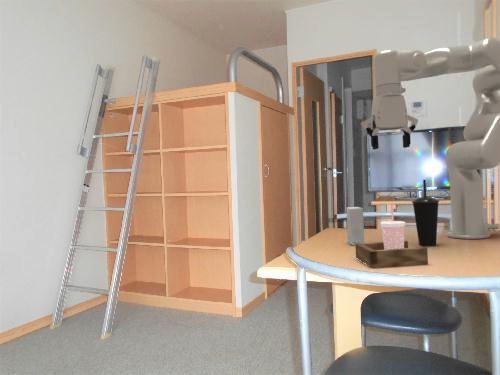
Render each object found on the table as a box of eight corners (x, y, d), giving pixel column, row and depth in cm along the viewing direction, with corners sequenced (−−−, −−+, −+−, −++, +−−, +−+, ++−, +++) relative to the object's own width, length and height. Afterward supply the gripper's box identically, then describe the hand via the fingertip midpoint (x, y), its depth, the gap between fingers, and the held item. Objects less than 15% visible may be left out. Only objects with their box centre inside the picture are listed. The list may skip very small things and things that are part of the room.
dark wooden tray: (406, 255, 108) (405, 240, 108) (428, 264, 96) (427, 247, 96) (356, 258, 107) (355, 243, 107) (371, 268, 95) (370, 251, 95)
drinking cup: (412, 246, 119) (409, 180, 118) (415, 242, 126) (412, 180, 125) (440, 247, 115) (437, 179, 115) (441, 243, 122) (438, 178, 122)
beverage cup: (384, 254, 106) (382, 202, 106) (409, 255, 103) (406, 201, 102) (379, 258, 101) (376, 204, 100) (404, 259, 98) (401, 203, 97)
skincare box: (365, 245, 126) (363, 207, 126) (351, 245, 127) (349, 208, 126) (360, 242, 133) (358, 206, 132) (347, 242, 133) (345, 207, 132)
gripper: (410, 93, 125) (412, 147, 125) (356, 96, 124) (359, 150, 125) (421, 88, 118) (424, 145, 118) (364, 91, 117) (367, 148, 117)
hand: (391, 148), depth 121 cm, fingers open, 9 cm apart
